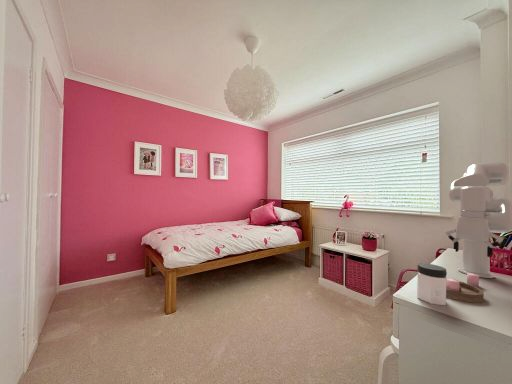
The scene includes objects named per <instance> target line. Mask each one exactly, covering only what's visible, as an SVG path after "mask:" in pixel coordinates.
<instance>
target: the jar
mask: <svg viewBox="0 0 512 384" xmlns="http://www.w3.org/2000/svg"><path fill="white" fill-rule="evenodd" d="M447 274H448V272H447V269H446V268H445V267H443V266H440V265H437V264H432V263H425V262H420V263H417V296H416V297H417V299H418V300H419V299H420V301H421V300H422V301H423V302H425V303H428V304H430V305H439V306H446V305H447V297H446V279H447Z"/></svg>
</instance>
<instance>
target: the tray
mask: <svg viewBox="0 0 512 384" xmlns="http://www.w3.org/2000/svg"><path fill="white" fill-rule="evenodd" d="M458 281H459V280H458ZM484 292H485V291H484V290H483V289H481V288H479V287H476V286H473V285H470V284H467V282H464V281H461V280H460V281H459V292H457V291H454V290H450V289H446V298H450V299H452V300H456V301H459V302H466V303H474V304H476V303H483V302H484V298H485V296H484V294H485V293H484Z"/></svg>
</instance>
